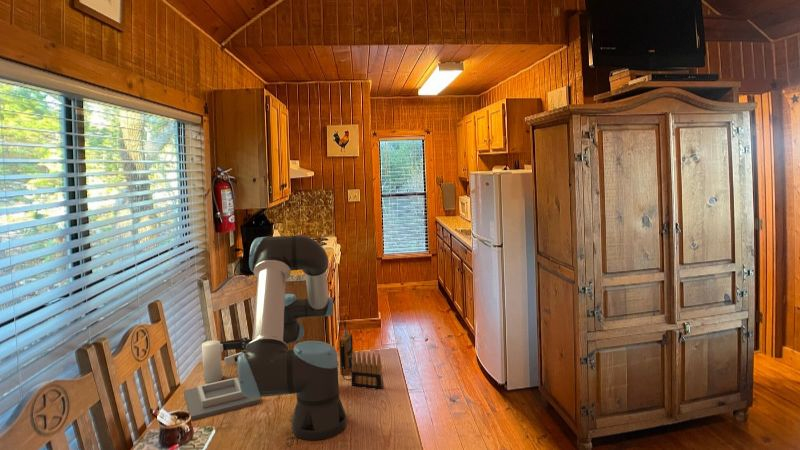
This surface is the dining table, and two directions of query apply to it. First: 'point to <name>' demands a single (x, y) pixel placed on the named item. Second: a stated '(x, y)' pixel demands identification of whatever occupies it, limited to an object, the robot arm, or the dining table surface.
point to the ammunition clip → (367, 371)
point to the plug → (212, 361)
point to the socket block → (216, 398)
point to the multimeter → (345, 351)
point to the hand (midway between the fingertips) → (214, 357)
